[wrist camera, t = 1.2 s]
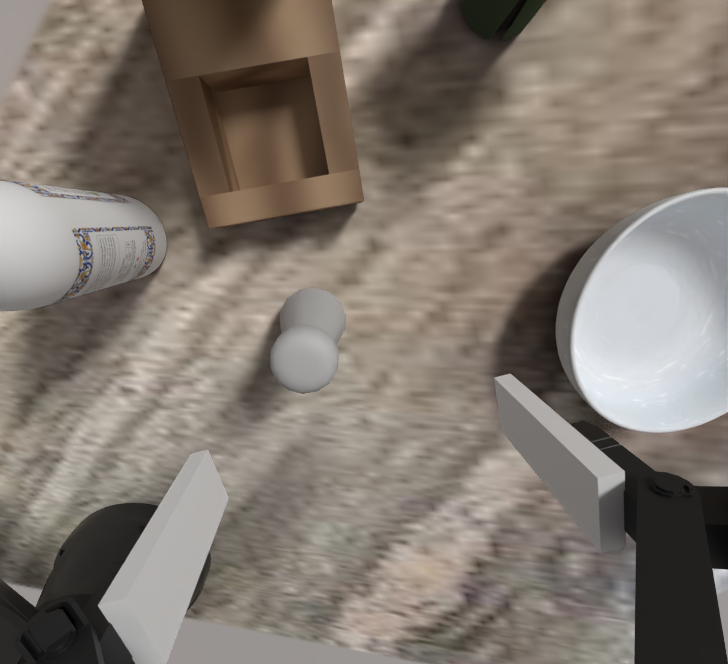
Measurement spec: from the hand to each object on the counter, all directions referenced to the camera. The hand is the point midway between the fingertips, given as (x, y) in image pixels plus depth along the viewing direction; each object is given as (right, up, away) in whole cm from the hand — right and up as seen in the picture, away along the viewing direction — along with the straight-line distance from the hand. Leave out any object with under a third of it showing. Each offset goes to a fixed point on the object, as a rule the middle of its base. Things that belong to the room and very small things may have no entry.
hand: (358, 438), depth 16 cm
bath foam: (-20, +13, +15) cm, 28 cm away
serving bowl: (+27, +8, +20) cm, 35 cm away
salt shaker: (-4, +7, +18) cm, 20 cm away
